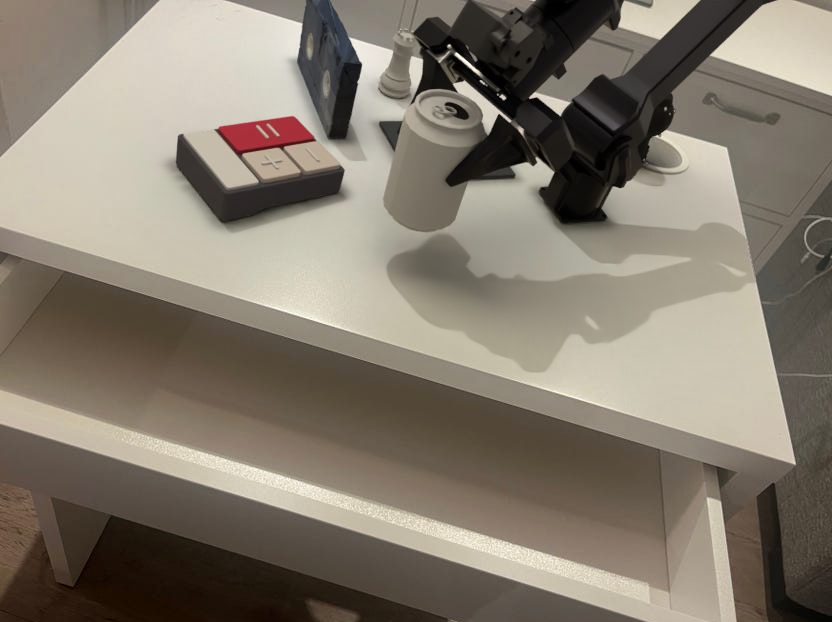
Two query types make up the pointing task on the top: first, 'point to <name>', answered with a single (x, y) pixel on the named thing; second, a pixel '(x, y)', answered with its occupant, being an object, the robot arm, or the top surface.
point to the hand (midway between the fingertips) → (422, 159)
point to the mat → (391, 134)
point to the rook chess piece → (399, 66)
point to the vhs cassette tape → (328, 66)
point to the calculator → (257, 166)
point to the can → (431, 159)
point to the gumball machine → (657, 125)
